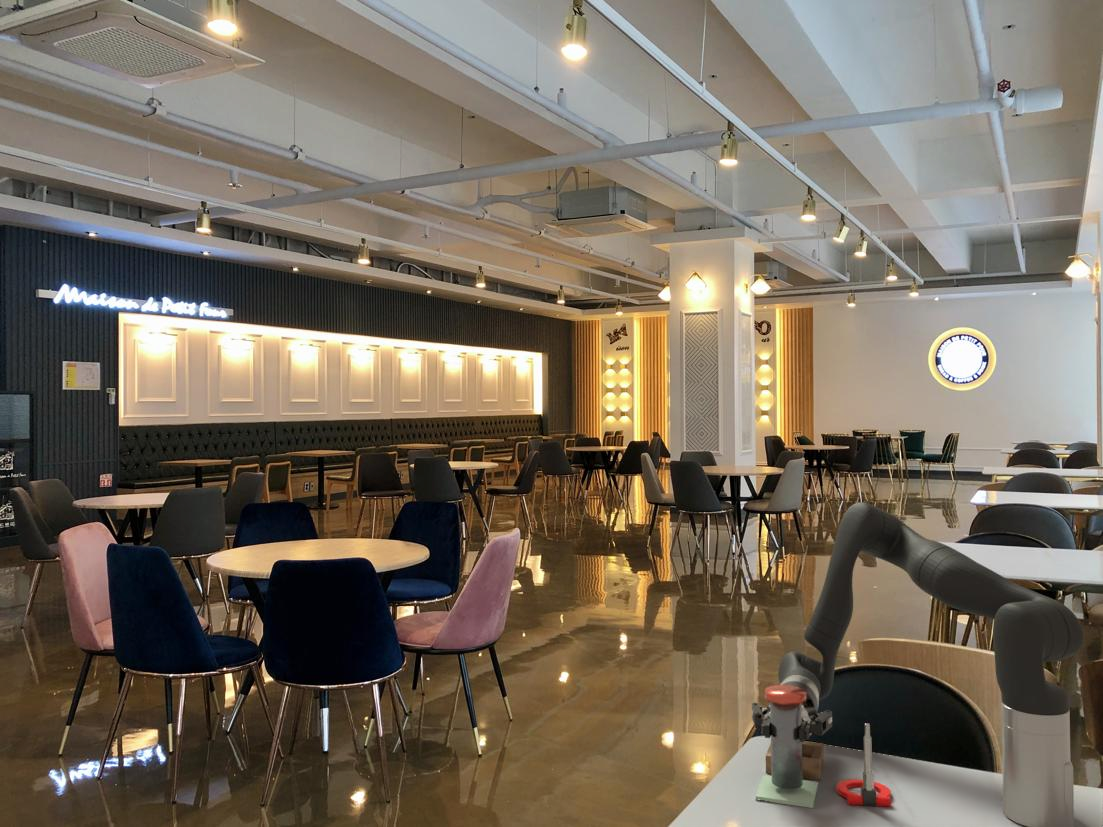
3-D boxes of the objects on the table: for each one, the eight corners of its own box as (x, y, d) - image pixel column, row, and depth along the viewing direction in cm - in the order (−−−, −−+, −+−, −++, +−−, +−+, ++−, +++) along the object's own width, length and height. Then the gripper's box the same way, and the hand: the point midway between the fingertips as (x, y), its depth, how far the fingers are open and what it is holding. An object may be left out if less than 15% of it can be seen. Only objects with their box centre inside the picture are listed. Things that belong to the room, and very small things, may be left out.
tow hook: (833, 784, 152) (842, 806, 143) (831, 707, 153) (840, 724, 143) (884, 787, 151) (897, 809, 142) (883, 709, 151) (895, 726, 142)
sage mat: (818, 785, 151) (818, 782, 151) (812, 808, 142) (812, 804, 142) (763, 778, 154) (763, 774, 154) (755, 799, 146) (755, 796, 146)
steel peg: (809, 777, 150) (808, 687, 150) (805, 793, 144) (804, 699, 144) (769, 772, 152) (767, 683, 152) (764, 787, 146) (762, 695, 146)
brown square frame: (824, 760, 161) (823, 743, 161) (819, 779, 153) (819, 762, 153) (773, 754, 165) (772, 737, 165) (765, 772, 156) (765, 755, 156)
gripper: (755, 676, 164) (739, 706, 148) (837, 684, 159) (829, 715, 143) (756, 717, 164) (740, 751, 148) (838, 726, 159) (830, 762, 143)
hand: (784, 733), depth 146 cm, fingers closed on steel peg, 5 cm apart
